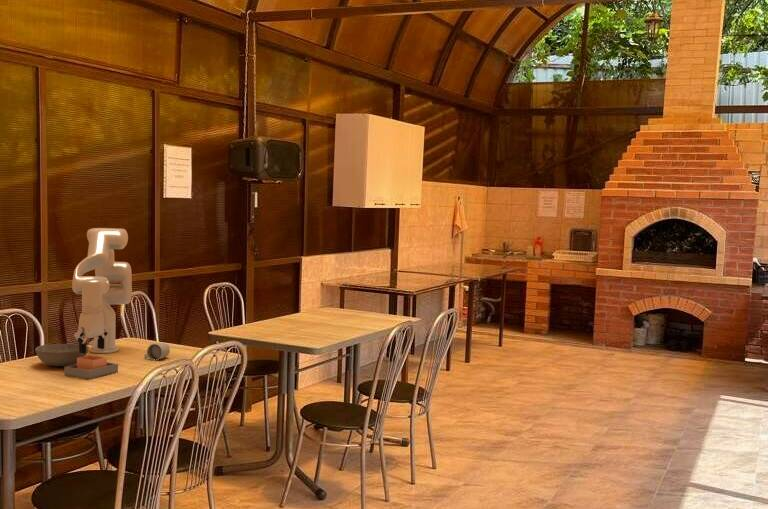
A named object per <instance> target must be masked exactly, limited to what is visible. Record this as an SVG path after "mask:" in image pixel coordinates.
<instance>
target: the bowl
mask: <svg viewBox="0 0 768 509" xmlns="http://www.w3.org/2000/svg"><path fill="white" fill-rule="evenodd" d="M34 351H35V353H36V356H37V358H38V359H39V360H40V361H41V363H44V364H45V365H48V366H51V367H66V366H71V365H75V364H77V358H80V357H84V356H87V354H88V353H89V351H90V347H89V346H88V345H86V353H85V354H84V353H79V343H77V344H76V343H56V344H55V343H54V344H53V343H50V344H49V343H48V344H43V345H42V344H41V345H39V346H36V348H35V349H34Z"/></svg>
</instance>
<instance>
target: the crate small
mask: <svg viewBox="0 0 768 509" xmlns="http://www.w3.org/2000/svg"><path fill="white" fill-rule="evenodd" d="M107 359H108V358H107V357H105V356H100V355H99V356H98V355H92V354H90V355H86V356H84V357H80V358H77V363H76V364H77V368H78V369H84V370H93V369H97V368H101V367H105V366H107Z"/></svg>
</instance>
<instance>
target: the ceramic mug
mask: <svg viewBox="0 0 768 509" xmlns="http://www.w3.org/2000/svg"><path fill="white" fill-rule="evenodd" d="M170 351H171V348H170V346H169V344H167V343H165V342H156V343H151V344H150V345H149V346H148V347H147V350H146V353H145V354H144V358H145V359H147V357H148V358H149V359H150V360H151V361H153V360H154V359H157V361H159V359H160V360H162V359H164V358H167V357H168V356H169V354H170V353H171V352H170Z"/></svg>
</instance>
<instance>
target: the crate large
mask: <svg viewBox="0 0 768 509" xmlns="http://www.w3.org/2000/svg"><path fill="white" fill-rule="evenodd" d="M63 368H64V370H63V371H64V376H65V377H70V376H72V377H71V378H76V377H78V378H77V379H82V378H84V380H88V379H90V380H94V379H98V378H102V377H104V375H105V376H109V375H113V374H117V373H119V364H118V363H114V362H107V366H105V367H101V368H97V369H93V370H84V369H78V368H77V363H76V364H74V365H70V366H63ZM116 372H117V373H116ZM112 373H113V374H112ZM108 374H109V375H108ZM101 376H102V377H101ZM97 377H98V378H97ZM93 378H94V379H93Z"/></svg>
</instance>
